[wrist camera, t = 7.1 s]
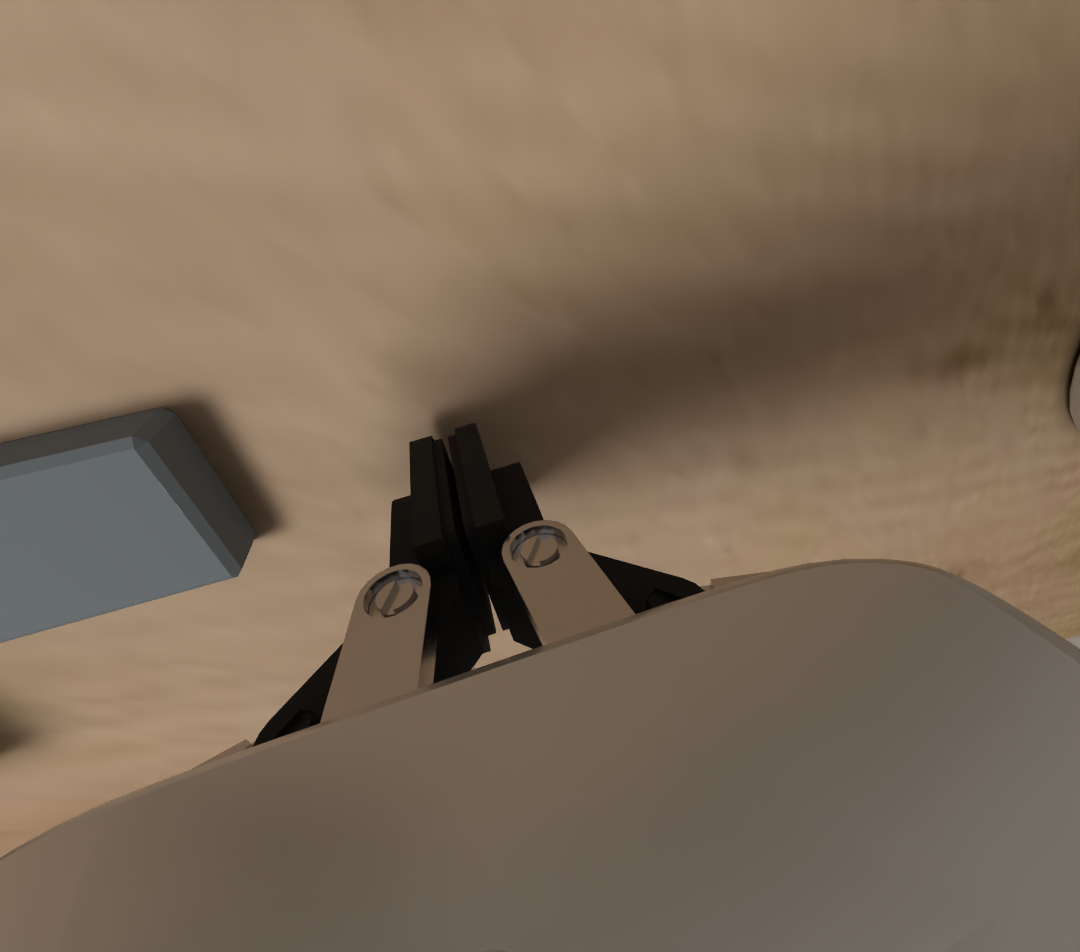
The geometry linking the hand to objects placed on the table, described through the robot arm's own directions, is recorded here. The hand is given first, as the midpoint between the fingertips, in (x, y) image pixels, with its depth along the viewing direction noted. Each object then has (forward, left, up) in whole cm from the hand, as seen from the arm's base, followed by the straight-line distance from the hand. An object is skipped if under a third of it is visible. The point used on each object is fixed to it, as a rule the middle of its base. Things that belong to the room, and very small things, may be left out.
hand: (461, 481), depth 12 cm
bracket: (+11, -2, -1) cm, 11 cm away
